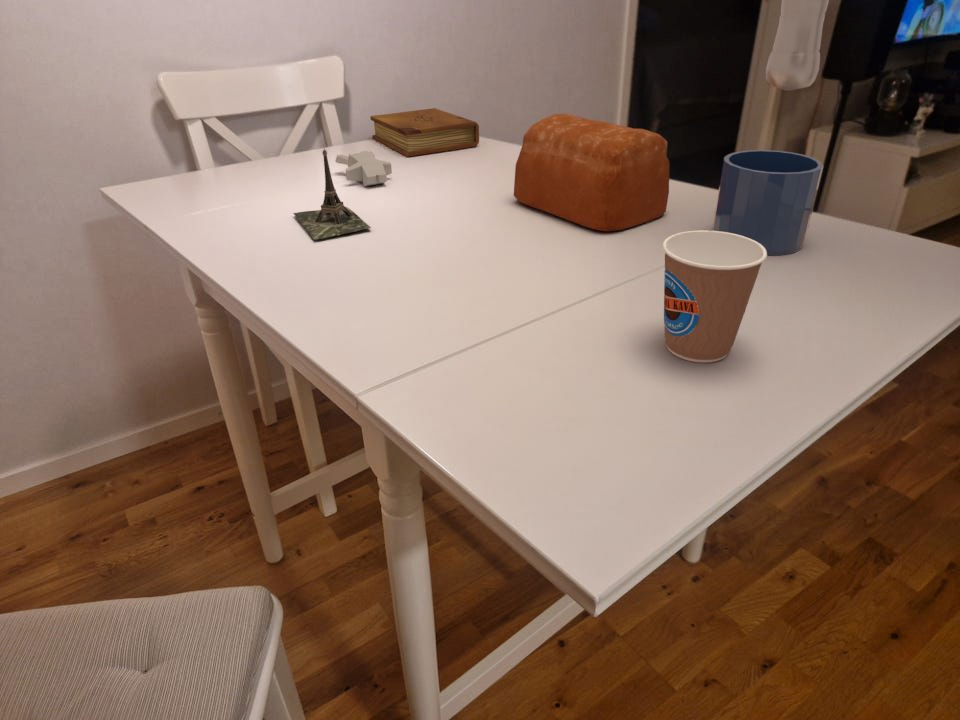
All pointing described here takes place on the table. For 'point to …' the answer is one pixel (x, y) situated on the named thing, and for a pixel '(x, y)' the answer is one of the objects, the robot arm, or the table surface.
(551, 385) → the table surface
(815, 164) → the blue bin
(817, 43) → the plastic bottle
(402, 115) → the diary
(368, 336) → the table surface
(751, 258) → the coffee cup
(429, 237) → the table surface
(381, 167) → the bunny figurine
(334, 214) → the eiffel tower figurine
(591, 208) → the bread
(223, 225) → the table surface
